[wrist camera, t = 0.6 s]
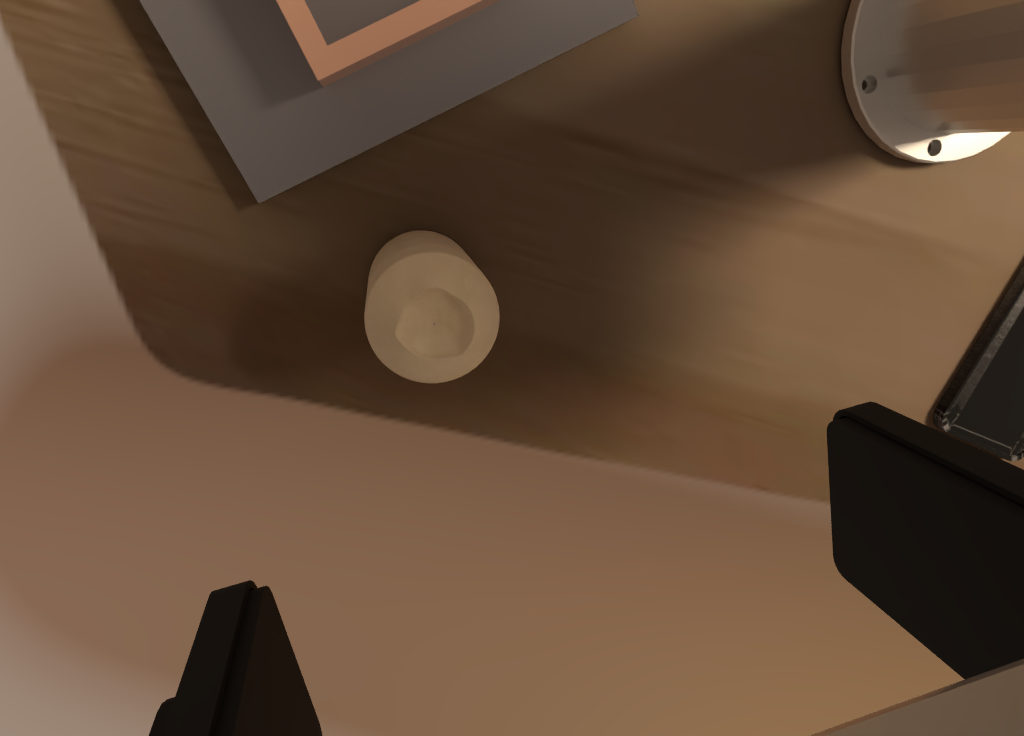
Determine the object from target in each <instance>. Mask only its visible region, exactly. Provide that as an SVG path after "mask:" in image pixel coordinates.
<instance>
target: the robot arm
mask: <svg viewBox="0 0 1024 736" xmlns="http://www.w3.org/2000/svg"><path fill="white" fill-rule="evenodd" d="M841 63H842V78H843V83H844V88H845V92H846V97H847V100H848V102H849V105H850V107H851V110H852V112H853V115H854V117H855V119H856V120H857V122H858V123H859V125H860V126H861V128H862V129H863V131H864V132H865V134H866V135H867V136H868V137H869V138H870V139H871V140H872V141H873V142H875V143H876V144H877V145H878V146H879V147H880V148H881V149H883V150H885V151H887V152H888V153H890V154H892V155H894V156H895V157H898V158H901V159H905V160H908V161H912V162H918V163H948V162H956V161H959V160H962V159H966V158H969V157H973V156H975V155H977V154H979V153H981V152H983V151H985V150H987V149H989V148H991V147H992V146H994V145H995V144H996V143H998V142H999V141H1000V140H1002V139H1003V138H1004V137H1006V136H1007V135H1008V134H1010V133H1011V132H1016V131H1024V0H851V4H850V7H849V11H848V14H847V18H846V21H845V25H844V31H843V39H842V48H841ZM827 446H828V465H829V484H830V504H831V521H832V522H831V523H832V542H833V557H834V562H835V564H836V567H837V569H838V571H839V572H840V573H841V575H842V576H843V577H844V578H845V579H846V580H847V581H848V582H849V583H851V584H852V585H853V586H854V587H855V588H857V589H858V590H859V591H860V592H862V594H864V595H865V596H866V597H867V598H868V599H870V600H871V601H872V602H873V603H874V604H876V605H877V606H878V607H879V608H880V609H882V610H883V611H884V612H885V613H886V614H887V615H889V616H890V617H891V618H892V619H894V620H895V621H896V622H897V623H898V624H900V625H901V626H902V627H903V628H904V629H905V630H907V631H908V632H909V633H910V634H911V635H913V636H914V637H915V638H916V639H917V640H918V641H920V642H921V643H922V644H923V645H924V646H926V647H927V648H928V649H929V650H930V651H932V652H933V653H934V654H935V655H936V656H937V657H939V658H940V659H941V660H942V661H943V662H945V663H946V664H947V665H948V666H949V667H951V668H952V669H953V670H954V671H955V672H957V673H958V674H959V675H960V676H961V677H962V678H964V679H965V680H963V681H960V682H957V683H955V684H951V685H949V686H946V687H943V688H940V689H938V690H935V691H932V692H929V693H926V694H924V695H921V696H918V697H915V698H912V699H910V700H907V701H904V702H901V703H899V704H895V705H893V706H890V707H887V708H884V709H882V710H879V711H876V712H873V713H870V714H868V715H865V716H862V717H860V718H857V719H854V720H852V721H849V722H846V723H843V724H840V725H837V726H835V727H832V728H829V729H827V730H824V731H821V732H818V733H815V734H813V735H810V736H1024V470H1023V469H1021V468H1018V467H1016V466H1014V465H1012V464H1010V463H1007V462H1005V461H1003V460H1001V459H999V458H996V457H994V456H992V455H990V454H988V453H985V452H983V451H981V450H979V449H976V448H974V447H972V446H970V445H968V444H965V443H963V442H961V441H959V440H957V439H954V438H952V437H950V436H948V435H946V434H943V433H941V432H939V431H937V430H935V429H932V428H930V427H928V426H926V425H924V424H921V423H919V422H917V421H915V420H913V419H910V418H908V417H906V416H904V415H902V414H899V413H897V412H895V411H893V410H890V409H888V408H886V407H884V406H882V405H879V404H877V403H874V402H867V403H863V404H860V405H856V406H853V407H849V408H846V409H842V410H839V411H838V412H837V413H835V415H834V418H833V421H832V422H830V423H829V424H828V427H827ZM149 736H322V731H321V727H320V723H319V721H318V718H317V715H316V712H315V709H314V707H313V704H312V701H311V698H310V696H309V693H308V690H307V687H306V685H305V682H304V679H303V676H302V674H301V671H300V668H299V665H298V663H297V660H296V657H295V654H294V652H293V649H292V646H291V644H290V641H289V638H288V635H287V632H286V630H285V627H284V624H283V622H282V619H281V616H280V613H279V610H278V608H277V605H276V602H275V599H274V597H273V594H272V592H271V590H270V588H269V587H268V586H264V587H260V588H257V586H256V585H255V583H254V582H253V581H251V580H250V581H246V582H243V583H239V584H236V585H232V586H229V587H225V588H222V589H219V590H215V591H213V592H211V594H210V595H209V598H208V601H207V604H206V607H205V610H204V613H203V616H202V619H201V622H200V625H199V628H198V631H197V634H196V637H195V640H194V643H193V646H192V649H191V652H190V655H189V658H188V661H187V664H186V667H185V670H184V673H183V675H182V678H181V681H180V684H179V687H178V691H177V693H176V696H175V697H174V698H170V699H167V700H166V701H165V702H163V703H162V704H161V706H160V708H159V710H158V712H157V714H156V717H155V720H154V723H153V725H152V728H151V731H150V734H149Z"/></svg>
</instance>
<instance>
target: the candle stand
mask: <svg viewBox="0 0 1024 736" xmlns="http://www.w3.org/2000/svg"><path fill="white" fill-rule="evenodd" d="M139 1H140V2H141V4H142V6H143V7H144V9H145V11H146V13H147V14H148V16H149V18H150V19H151V21H152V23H153V24H154V26H155V28H156V30H157V31H158V33H159V35H160V36H161V38H162V40H163V41H164V43H165V45H166V47H167V48H168V50H169V52H170V53H171V55H172V57H173V59H174V60H175V62H176V64H177V65H178V67H179V69H180V70H181V72H182V74H183V76H184V77H185V79H186V81H187V82H188V84H189V86H190V87H191V89H192V91H193V93H194V94H195V96H196V98H197V99H198V101H199V103H200V105H201V106H202V108H203V110H204V111H205V113H206V115H207V116H208V118H209V120H210V122H211V123H212V125H213V127H214V128H215V130H216V132H217V133H218V135H219V137H220V139H221V140H222V142H223V144H224V145H225V147H226V149H227V151H228V152H229V154H230V156H231V157H232V159H233V161H234V162H235V164H236V166H237V168H238V169H239V171H240V173H241V174H242V176H243V178H244V179H245V181H246V183H247V185H248V186H249V188H250V190H251V191H252V193H253V195H254V196H255V198H256V200H257V202H258V203H262V202H264V201H266V200H268V199H270V198H272V197H274V196H276V195H278V194H280V193H282V192H284V191H286V190H288V189H290V188H292V187H294V186H296V185H298V184H300V183H302V182H304V181H306V180H308V179H311V178H313V177H315V176H317V175H319V174H321V173H323V172H325V171H327V170H329V169H331V168H333V167H335V166H337V165H339V164H341V163H343V162H345V161H347V160H349V159H351V158H353V157H355V156H357V155H359V154H361V153H363V152H365V151H367V150H369V149H371V148H373V147H375V146H377V145H379V144H381V143H383V142H385V141H387V140H389V139H391V138H393V137H395V136H397V135H399V134H402V133H404V132H406V131H408V130H410V129H412V128H414V127H416V126H418V125H420V124H422V123H424V122H426V121H428V120H430V119H432V118H434V117H436V116H438V115H440V114H442V113H444V112H446V111H448V110H450V109H452V108H454V107H456V106H458V105H460V104H462V103H464V102H466V101H468V100H470V99H472V98H474V97H476V96H478V95H480V94H482V93H484V92H486V91H488V90H490V89H493V88H495V87H497V86H499V85H501V84H503V83H505V82H507V81H509V80H511V79H513V78H515V77H517V76H519V75H521V74H523V73H525V72H527V71H529V70H531V69H533V68H535V67H537V66H539V65H541V64H543V63H545V62H547V61H549V60H551V59H553V58H555V57H557V56H559V55H561V54H563V53H565V52H567V51H569V50H571V49H573V48H575V47H577V46H579V45H581V44H584V43H586V42H588V41H590V40H592V39H594V38H596V37H598V36H600V35H602V34H604V33H606V32H608V31H610V30H612V29H614V28H616V27H618V26H620V25H622V24H624V23H626V22H628V21H630V20H632V19H634V18H636V17H637V16H639V15H638V12H637V9H636V6H635V3H634V1H633V0H139Z"/></svg>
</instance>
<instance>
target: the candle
mask: <svg viewBox="0 0 1024 736" xmlns="http://www.w3.org/2000/svg"><path fill="white" fill-rule="evenodd" d="M499 320H500V313H499V305H498V301H497V297H496V295H495V292H494V290H493V288H492V286H491V284H490V282H489V281H488V280H487V278H486V277H485V276H484V274H483V273H482V272H481V271H480V269H479V268H478V267H477V266H476V265H475V263H474V262H473V261H472V260H471V259H470V257H469V256H468V255H467V254H466V252H465V251H464V250H463V249H462V248H461V247H460V246H459V245H458V244H457V243H455V242H454V241H453V240H451V239H450V238H448V237H446V236H444V235H442V234H440V233H436V232H432V231H425V230H418V231H411V232H406V233H403V234H401V235H398V236H397V237H395V238H393V239H391V240H390V241H389V242H387V243H386V244H385V245H384V246H383V247H382V248H381V250H380V251H379V252H378V253H377V255H376V257H375V259H374V260H373V263H372V265H371V269H370V273H369V278H368V287H367V296H366V304H365V313H364V322H365V330H366V334H367V338H368V341H369V343H370V345H371V347H372V349H373V351H374V352H375V354H376V356H377V357H378V358H379V359H380V360H381V362H382V363H383V364H384V365H385V366H387V367H388V368H389V369H390V370H392V371H393V372H394V373H396V374H398V375H400V376H402V377H404V378H406V379H409V380H412V381H416V382H421V383H442V382H447V381H451V380H454V379H457V378H459V377H462V376H463V375H465V374H467V373H469V372H470V371H472V370H473V369H474V368H476V367H477V366H478V365H479V364H480V363H481V362H482V361H483V360H484V359H485V357H486V356H487V355H488V353H489V352H490V350H491V348H492V346H493V344H494V342H495V340H496V337H497V333H498V329H499Z"/></svg>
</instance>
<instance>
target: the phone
mask: <svg viewBox="0 0 1024 736" xmlns="http://www.w3.org/2000/svg"><path fill="white" fill-rule="evenodd" d="M934 423H935V425H936V426H937V427H938V428H939V429H941V430H943V431H945V432H947V433H949V434H951V435H954V436H956V437H958V438H960V439H962V440H965V441H967V442H969V443H971V444H973V445H975V446H978V447H980V448H982V449H984V450H986V451H989V452H991V453H993V454H995V455H997V456H1000V457H1002V458H1004V459H1006V460H1009V461H1017V460H1020V459H1022V458H1023V457H1024V266H1023V267H1022V269H1021V271H1020V272H1019V274H1018V275H1017V277H1016V279H1015V280H1014V282H1013V284H1012V285H1011V287H1010V288H1009V290H1008V292H1007V293H1006V295H1005V297H1004V298H1003V300H1002V302H1001V303H1000V305H999V306H998V308H997V310H996V311H995V313H994V315H993V316H992V318H991V319H990V321H989V323H988V324H987V326H986V328H985V329H984V331H983V332H982V334H981V336H980V337H979V339H978V341H977V342H976V344H975V346H974V347H973V349H972V350H971V352H970V354H969V355H968V357H967V359H966V360H965V362H964V363H963V365H962V367H961V368H960V370H959V372H958V373H957V375H956V377H955V378H954V380H953V381H952V383H951V385H950V386H949V388H948V390H947V391H946V393H945V394H944V396H943V398H942V399H941V401H940V403H939V404H938V406H937V408H936V410H935V412H934Z"/></svg>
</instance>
